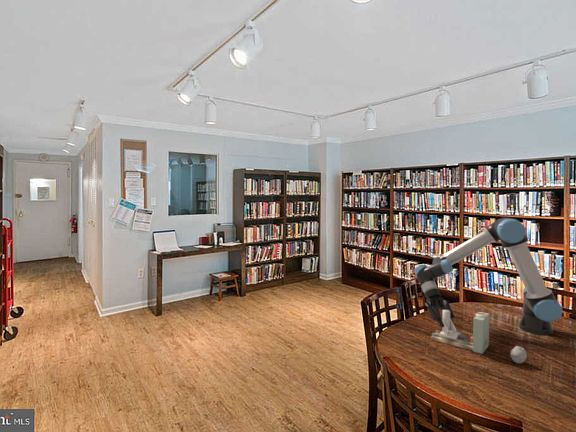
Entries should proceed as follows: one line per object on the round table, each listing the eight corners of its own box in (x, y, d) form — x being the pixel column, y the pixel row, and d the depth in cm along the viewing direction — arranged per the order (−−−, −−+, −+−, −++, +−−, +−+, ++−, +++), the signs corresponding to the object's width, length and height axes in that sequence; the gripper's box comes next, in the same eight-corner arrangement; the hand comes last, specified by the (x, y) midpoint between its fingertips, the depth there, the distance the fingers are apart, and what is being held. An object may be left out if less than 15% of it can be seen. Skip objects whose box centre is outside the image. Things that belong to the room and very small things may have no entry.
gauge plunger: (480, 343, 167) (480, 338, 167) (479, 344, 166) (479, 339, 166) (471, 340, 170) (471, 336, 170) (470, 342, 168) (470, 337, 168)
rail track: (479, 343, 171) (479, 339, 171) (473, 350, 164) (473, 345, 164) (437, 333, 185) (437, 328, 185) (430, 339, 178) (430, 334, 177)
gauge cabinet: (489, 345, 169) (490, 311, 168) (483, 354, 160) (484, 318, 159) (478, 342, 172) (479, 309, 171) (471, 351, 164) (472, 315, 163)
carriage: (467, 336, 174) (467, 312, 173) (462, 341, 168) (462, 316, 167) (444, 331, 181) (444, 308, 181) (439, 336, 176) (439, 311, 175)
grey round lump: (529, 363, 151) (530, 347, 151) (522, 367, 147) (522, 351, 147) (514, 357, 156) (515, 342, 156) (506, 362, 153) (507, 346, 152)
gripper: (441, 293, 193) (461, 333, 178) (414, 295, 189) (433, 337, 174) (447, 286, 187) (469, 327, 172) (420, 288, 184) (439, 330, 169)
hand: (451, 332), depth 173 cm, fingers closed on carriage, 4 cm apart
